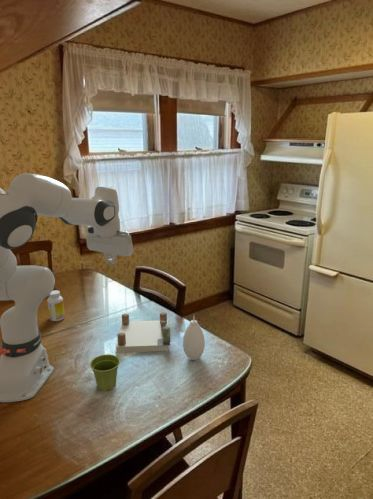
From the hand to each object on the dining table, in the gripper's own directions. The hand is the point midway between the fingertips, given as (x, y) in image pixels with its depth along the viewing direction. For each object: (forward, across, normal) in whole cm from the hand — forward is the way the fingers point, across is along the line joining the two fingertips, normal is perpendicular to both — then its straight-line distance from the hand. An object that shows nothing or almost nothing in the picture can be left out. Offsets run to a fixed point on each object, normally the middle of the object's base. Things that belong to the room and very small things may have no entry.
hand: (110, 263), depth 143 cm
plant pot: (+31, -18, +28) cm, 46 cm away
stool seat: (+31, -12, -3) cm, 34 cm away
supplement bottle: (+31, +32, +1) cm, 45 cm away
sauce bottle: (+31, -37, +1) cm, 48 cm away
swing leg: (+28, -22, -4) cm, 36 cm away
